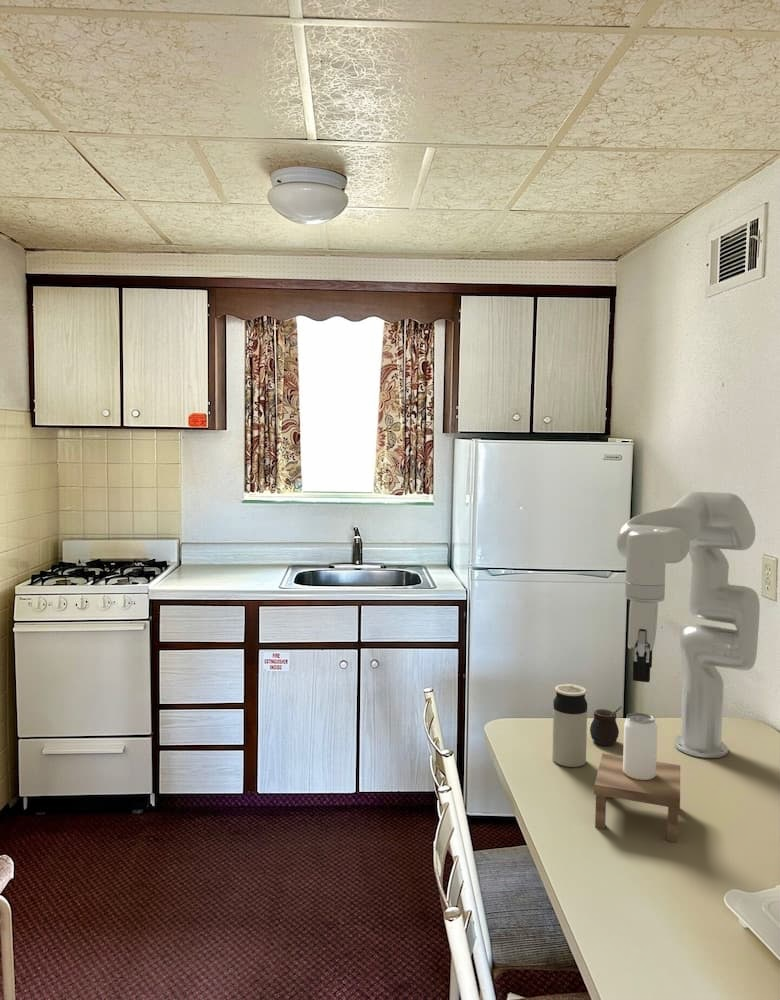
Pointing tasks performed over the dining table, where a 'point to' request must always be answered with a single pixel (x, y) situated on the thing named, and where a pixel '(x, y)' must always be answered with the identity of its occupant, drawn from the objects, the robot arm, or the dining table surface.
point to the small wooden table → (638, 790)
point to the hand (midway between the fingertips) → (642, 673)
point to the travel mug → (569, 725)
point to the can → (640, 746)
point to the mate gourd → (604, 727)
